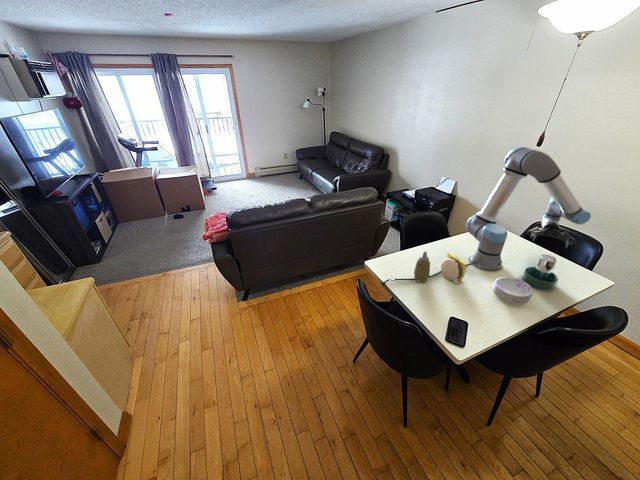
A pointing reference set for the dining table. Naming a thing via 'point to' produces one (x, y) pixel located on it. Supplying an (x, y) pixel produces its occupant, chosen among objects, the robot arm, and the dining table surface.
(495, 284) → the lavender bowl
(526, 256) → the dining table surface
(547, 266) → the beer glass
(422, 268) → the squeeze bottle
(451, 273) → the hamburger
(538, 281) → the glazed bowl
